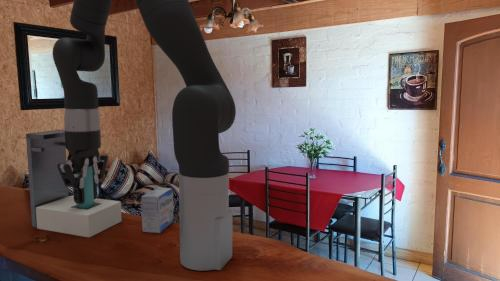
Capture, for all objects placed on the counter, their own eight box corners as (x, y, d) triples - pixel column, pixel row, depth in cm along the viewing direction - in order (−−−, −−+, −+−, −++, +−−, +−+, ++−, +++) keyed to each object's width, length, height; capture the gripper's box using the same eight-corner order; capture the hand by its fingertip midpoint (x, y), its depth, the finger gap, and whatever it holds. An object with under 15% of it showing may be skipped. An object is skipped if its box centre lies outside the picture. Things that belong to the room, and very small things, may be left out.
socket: (121, 221, 93) (120, 201, 92) (89, 237, 82) (88, 215, 82) (73, 213, 98) (72, 195, 97) (37, 228, 87) (35, 207, 87)
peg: (97, 214, 90) (95, 165, 88) (87, 219, 87) (84, 168, 85) (86, 212, 91) (83, 164, 90) (75, 217, 88) (72, 167, 86)
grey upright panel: (81, 216, 96) (77, 130, 93) (49, 229, 87) (43, 134, 84) (65, 213, 98) (61, 129, 95) (32, 226, 88) (25, 133, 85)
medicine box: (159, 234, 85) (159, 196, 84) (141, 232, 86) (140, 195, 85) (173, 222, 93) (173, 188, 92) (156, 220, 94) (156, 186, 92)
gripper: (71, 132, 78) (75, 212, 81) (116, 126, 92) (119, 195, 94) (44, 130, 81) (49, 208, 83) (91, 125, 94) (94, 192, 96)
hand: (86, 200), depth 88 cm, fingers closed on peg, 3 cm apart
